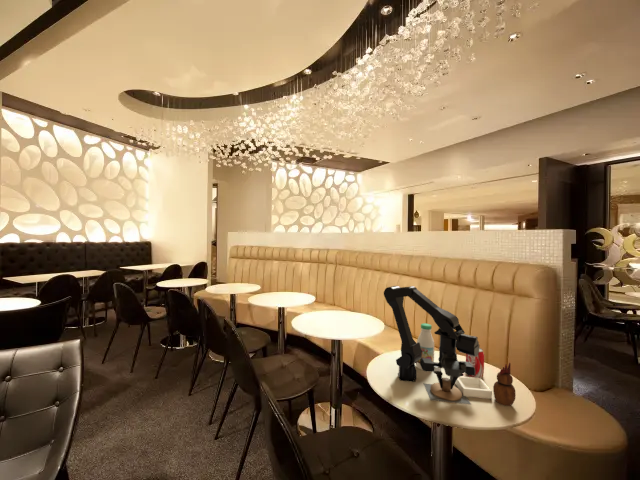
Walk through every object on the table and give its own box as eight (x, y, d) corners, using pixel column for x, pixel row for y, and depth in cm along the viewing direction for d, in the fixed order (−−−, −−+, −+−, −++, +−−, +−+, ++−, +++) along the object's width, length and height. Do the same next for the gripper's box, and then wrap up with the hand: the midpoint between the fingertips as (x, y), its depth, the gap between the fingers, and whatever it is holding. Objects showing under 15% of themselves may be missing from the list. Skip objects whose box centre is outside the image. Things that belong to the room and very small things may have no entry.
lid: (434, 399, 106) (435, 385, 106) (427, 383, 117) (428, 371, 117) (466, 402, 105) (466, 388, 105) (456, 386, 116) (456, 374, 116)
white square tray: (463, 397, 109) (463, 388, 109) (454, 384, 119) (454, 375, 119) (491, 400, 108) (492, 391, 108) (480, 386, 118) (480, 377, 118)
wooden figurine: (511, 400, 108) (512, 360, 108) (517, 409, 103) (519, 367, 102) (490, 397, 110) (492, 358, 109) (496, 406, 104) (497, 365, 104)
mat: (430, 401, 106) (430, 400, 106) (423, 384, 118) (423, 383, 118) (471, 405, 104) (471, 404, 104) (459, 388, 116) (459, 386, 116)
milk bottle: (418, 362, 139) (420, 320, 138) (435, 367, 134) (437, 324, 134) (413, 368, 132) (415, 324, 132) (431, 373, 128) (432, 328, 127)
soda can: (486, 381, 122) (487, 352, 122) (467, 378, 124) (469, 351, 124) (480, 373, 129) (481, 346, 129) (463, 371, 131) (464, 344, 130)
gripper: (427, 354, 104) (425, 397, 104) (482, 359, 101) (480, 403, 102) (420, 343, 115) (419, 382, 115) (470, 346, 112) (468, 386, 113)
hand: (446, 388), depth 111 cm, fingers closed on lid, 3 cm apart
